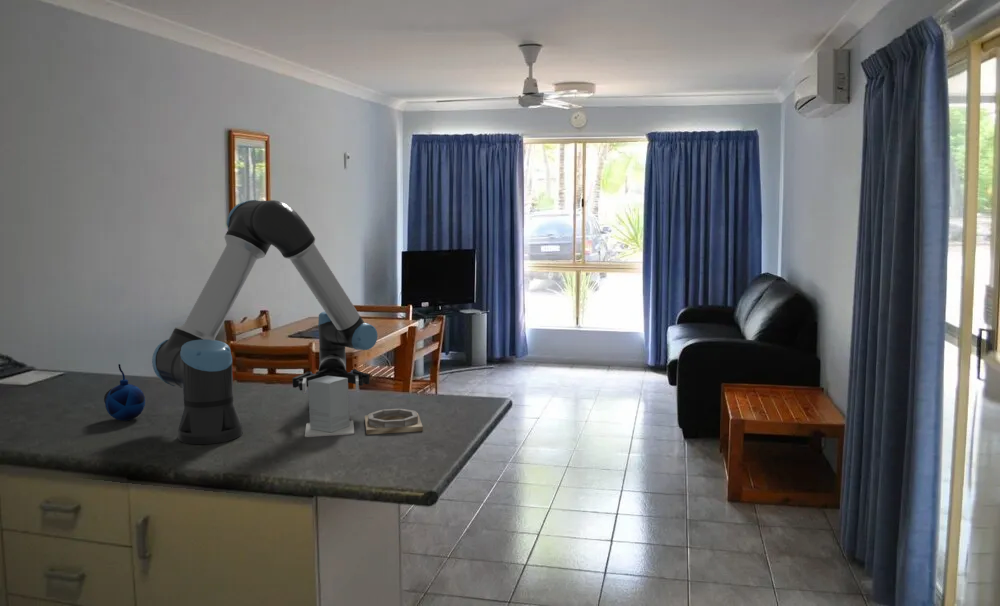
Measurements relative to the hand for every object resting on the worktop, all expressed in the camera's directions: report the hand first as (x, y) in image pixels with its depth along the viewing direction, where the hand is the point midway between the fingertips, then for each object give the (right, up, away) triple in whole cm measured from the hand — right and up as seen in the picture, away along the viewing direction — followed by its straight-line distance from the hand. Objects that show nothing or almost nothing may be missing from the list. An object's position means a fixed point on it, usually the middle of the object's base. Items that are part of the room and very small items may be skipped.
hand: (330, 387), depth 222 cm
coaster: (+1, -10, -4) cm, 11 cm away
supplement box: (+1, -10, -4) cm, 11 cm away
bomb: (-56, -10, +7) cm, 58 cm away
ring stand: (+16, -10, -1) cm, 19 cm away
